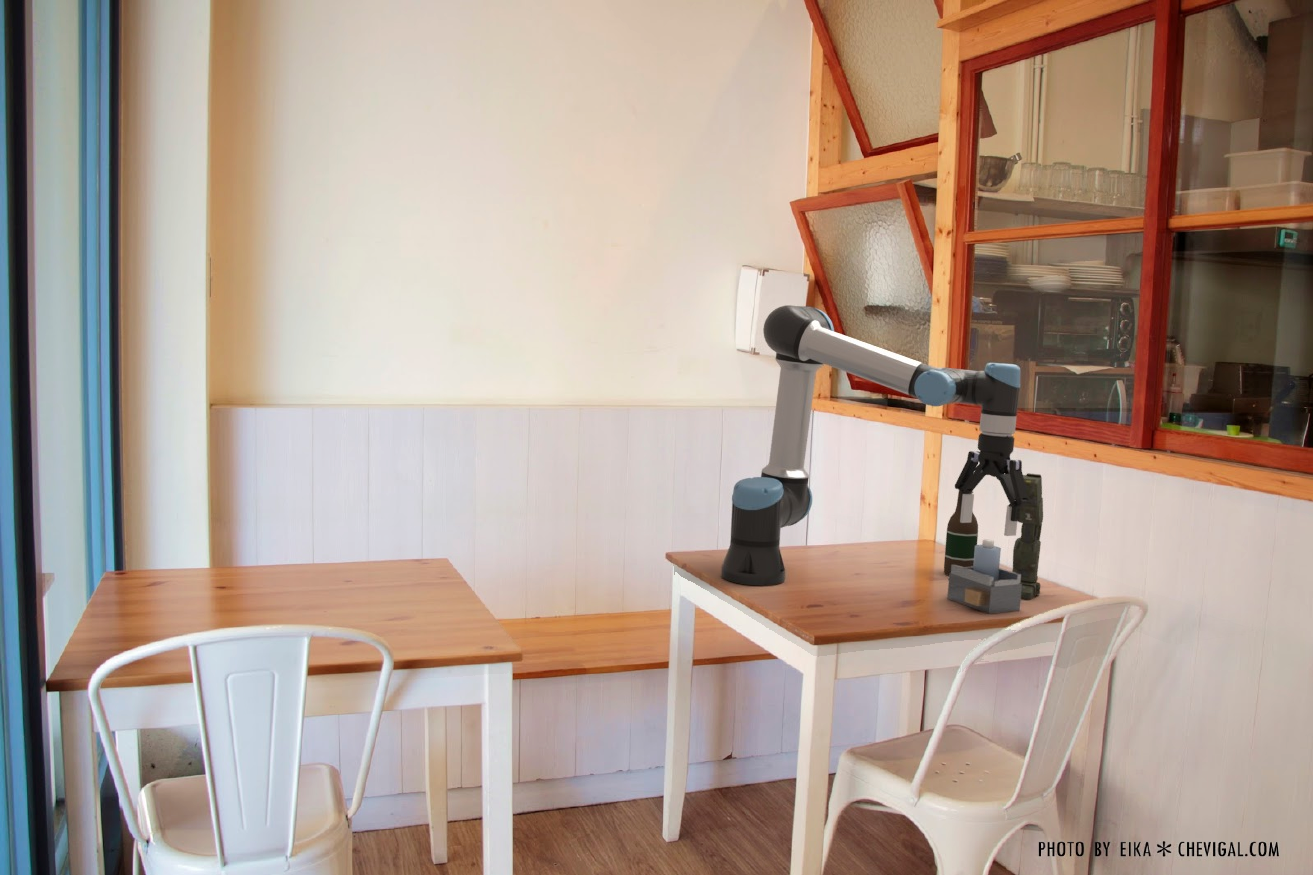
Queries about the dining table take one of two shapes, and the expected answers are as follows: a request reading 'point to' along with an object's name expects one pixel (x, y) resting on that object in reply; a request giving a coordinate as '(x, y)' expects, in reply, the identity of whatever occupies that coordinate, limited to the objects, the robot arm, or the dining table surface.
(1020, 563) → the mechanical leg
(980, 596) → the open grey metal box
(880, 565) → the dining table surface
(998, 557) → the light blue bottle
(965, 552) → the beer bottle
